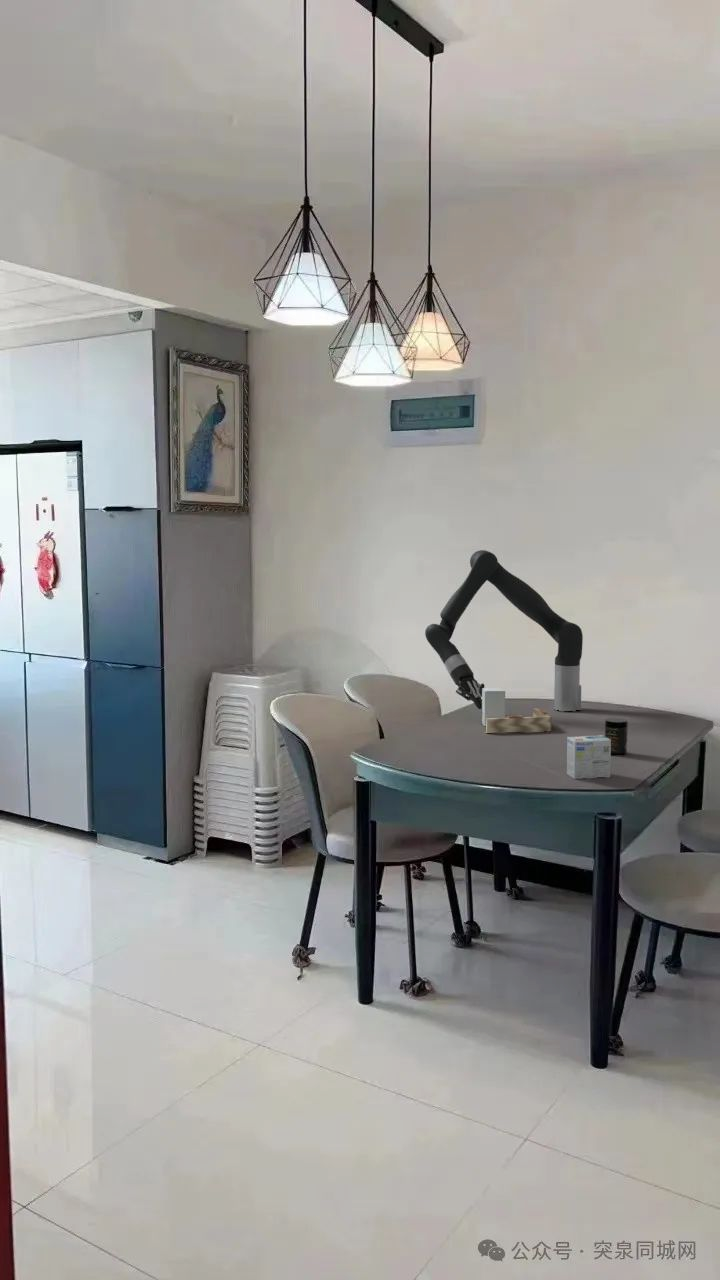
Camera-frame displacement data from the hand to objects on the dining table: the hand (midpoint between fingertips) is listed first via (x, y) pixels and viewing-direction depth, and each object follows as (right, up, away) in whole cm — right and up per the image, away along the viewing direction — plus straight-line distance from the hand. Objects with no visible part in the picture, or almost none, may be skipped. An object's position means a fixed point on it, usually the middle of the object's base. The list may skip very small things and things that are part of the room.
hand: (482, 707), depth 346 cm
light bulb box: (+20, -14, -74) cm, 78 cm away
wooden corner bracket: (+9, -6, -9) cm, 14 cm away
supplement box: (+3, -6, -4) cm, 8 cm away
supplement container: (+35, -11, -48) cm, 60 cm away
